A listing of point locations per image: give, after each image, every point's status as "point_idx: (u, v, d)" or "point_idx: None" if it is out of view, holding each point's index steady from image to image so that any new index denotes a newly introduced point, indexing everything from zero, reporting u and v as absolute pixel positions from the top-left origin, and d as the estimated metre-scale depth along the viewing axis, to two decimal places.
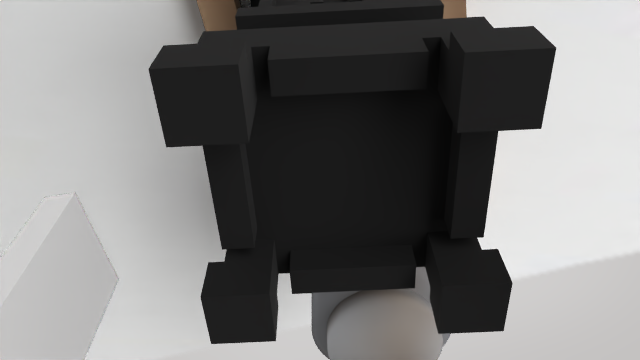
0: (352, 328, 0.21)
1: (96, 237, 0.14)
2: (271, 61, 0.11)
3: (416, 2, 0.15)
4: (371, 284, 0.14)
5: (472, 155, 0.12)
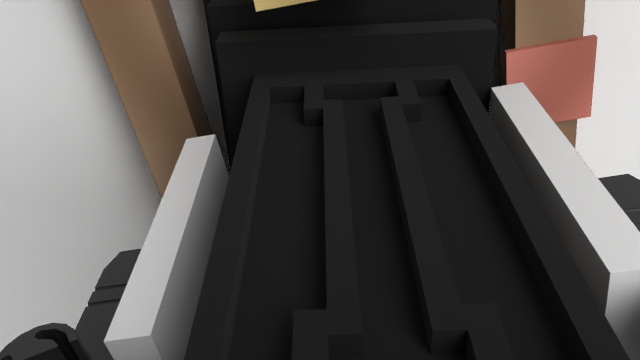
0: None
1: (227, 178, 0.15)
2: None
3: None
4: None
5: None
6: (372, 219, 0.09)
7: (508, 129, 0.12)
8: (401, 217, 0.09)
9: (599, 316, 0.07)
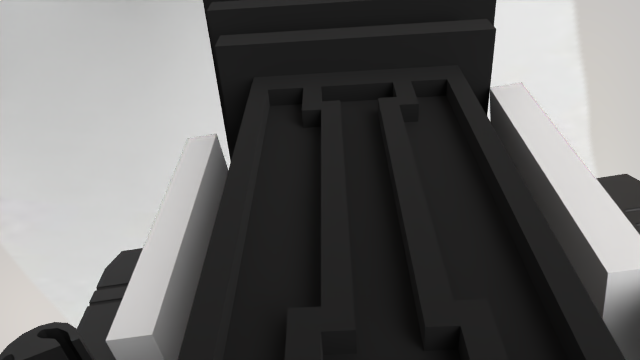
0: None
1: None
2: None
3: None
4: None
5: None
6: (368, 218, 0.09)
7: (507, 129, 0.12)
8: (397, 216, 0.09)
9: (592, 311, 0.07)
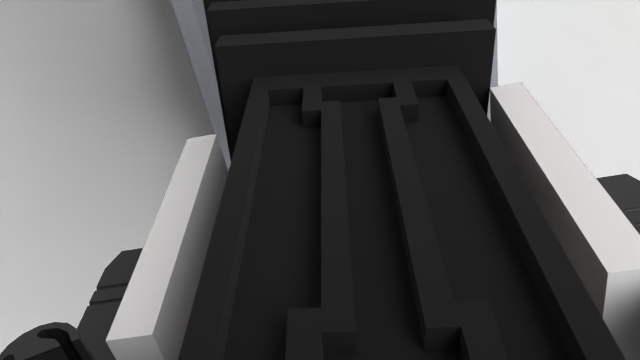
0: None
1: None
2: None
3: None
4: None
5: None
6: (369, 219, 0.09)
7: (507, 129, 0.12)
8: (397, 216, 0.09)
9: (593, 312, 0.07)
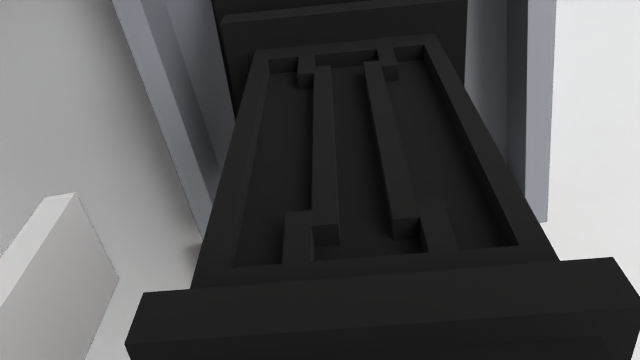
0: None
1: (96, 237, 0.14)
2: None
3: (566, 285, 0.06)
4: None
5: None
6: (353, 154, 0.11)
7: None
8: (377, 151, 0.11)
9: (524, 204, 0.08)
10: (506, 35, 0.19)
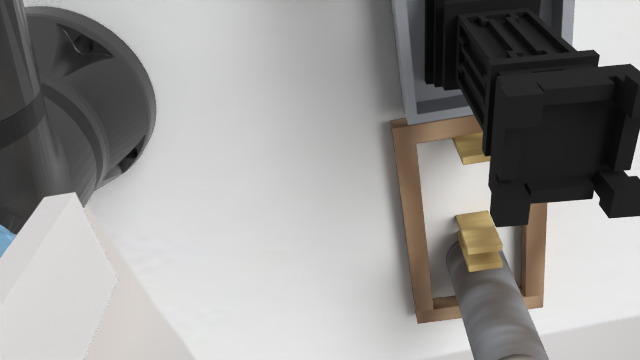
0: None
1: (95, 237, 0.14)
2: (545, 90, 0.26)
3: (583, 53, 0.30)
4: (570, 197, 0.29)
5: (629, 129, 0.27)
6: (514, 42, 0.34)
7: None
8: (522, 41, 0.34)
9: (571, 47, 0.32)
10: (551, 10, 0.43)
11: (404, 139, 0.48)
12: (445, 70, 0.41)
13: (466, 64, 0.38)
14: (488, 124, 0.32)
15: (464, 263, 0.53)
